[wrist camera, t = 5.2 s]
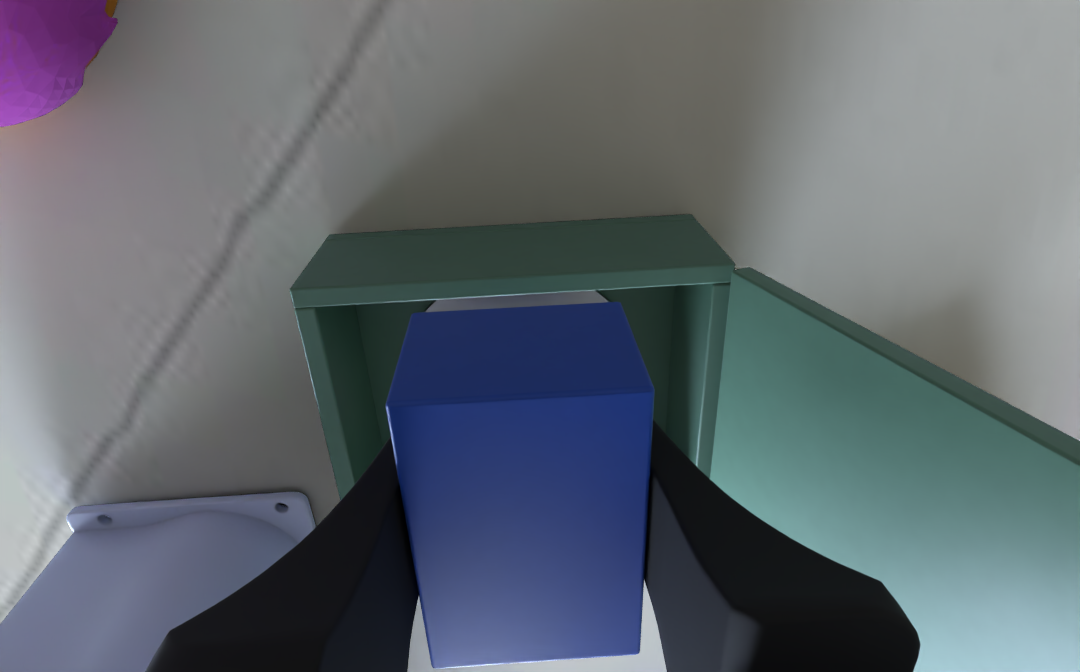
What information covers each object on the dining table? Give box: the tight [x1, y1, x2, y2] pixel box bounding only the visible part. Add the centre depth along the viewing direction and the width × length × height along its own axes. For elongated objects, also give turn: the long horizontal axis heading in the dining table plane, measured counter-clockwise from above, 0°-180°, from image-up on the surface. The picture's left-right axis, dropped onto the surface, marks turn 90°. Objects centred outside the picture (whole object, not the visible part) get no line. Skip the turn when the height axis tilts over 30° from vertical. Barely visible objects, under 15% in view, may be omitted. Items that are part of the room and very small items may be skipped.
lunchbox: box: [290, 214, 735, 500], centre depth 22 cm, size 12×11×5 cm
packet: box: [385, 302, 655, 669], centre depth 14 cm, size 5×7×4 cm, turn 2°
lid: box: [710, 267, 1080, 672], centre depth 15 cm, size 13×11×1 cm
